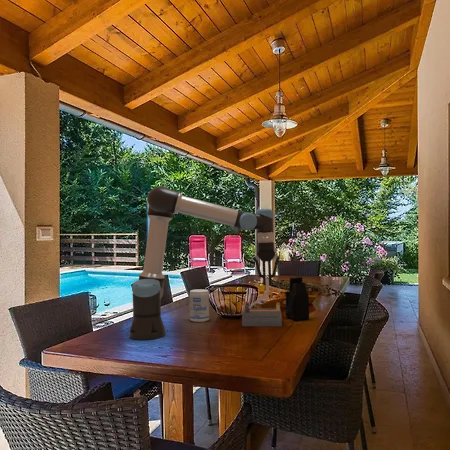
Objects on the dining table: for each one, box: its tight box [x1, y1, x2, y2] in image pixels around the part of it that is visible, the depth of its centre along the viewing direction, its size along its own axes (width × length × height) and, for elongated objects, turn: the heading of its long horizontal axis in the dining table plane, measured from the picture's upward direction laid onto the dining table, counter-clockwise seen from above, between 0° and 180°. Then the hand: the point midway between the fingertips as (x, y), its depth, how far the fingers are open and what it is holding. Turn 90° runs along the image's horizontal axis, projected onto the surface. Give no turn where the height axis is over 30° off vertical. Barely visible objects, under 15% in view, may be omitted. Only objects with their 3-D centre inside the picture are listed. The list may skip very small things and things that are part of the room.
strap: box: [248, 289, 275, 309], centre depth 199 cm, size 16×4×1 cm
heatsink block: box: [241, 302, 283, 327], centre depth 199 cm, size 18×12×9 cm, turn 83°
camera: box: [284, 277, 310, 322], centre depth 208 cm, size 10×14×20 cm
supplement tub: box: [189, 288, 210, 323], centre depth 208 cm, size 10×10×15 cm
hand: (267, 292), depth 198 cm, fingers closed
